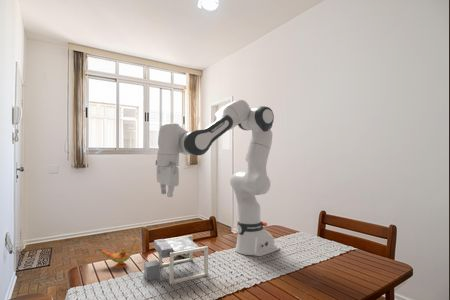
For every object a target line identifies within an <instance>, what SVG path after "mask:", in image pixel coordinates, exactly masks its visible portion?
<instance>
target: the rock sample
mask: <svg viewBox="0 0 450 300" xmlns="http://www.w3.org/2000/svg"><path fill="white" fill-rule="evenodd" d="M180 256H181V257H183V258H184V259H187V258H189V253H187V254H182V255H176V256H175V257H180Z"/></svg>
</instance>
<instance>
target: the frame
mask: <svg viewBox="0 0 450 300" xmlns="http://www.w3.org/2000/svg"><path fill="white" fill-rule="evenodd" d="M184 237H188V238H189V239H190V240H191V241H193V240H194V236H193V234H190V235H183V236H177V237H176V236H175V237H170V238H169V237H168V238H163V239H164V240H171V239H178V238H184ZM193 242H194V241H193ZM201 251H203V272H202V273H198V274H197V273H196V274H193V275H188V276H185V277H184V276H183V277H180V278H176V279H174V278H175V275H174V274H175V273H174V272H175V271H174V269H175V268H174V266H175V265H177V264H181V263H186V262H191V261H193V258H194V257H193V256H194V253H197V252H201ZM187 253H189V258H187V257H186V258H184V259H178V260H175V257H177V256H176V255H182V254H187ZM158 262H159V264H160V268H162V267H167V266H169V284H170V285H173V284H178V283H182V282H186V281H190V280H193V279H194V280H195V279H200V278H202V277H206V276H207V277H208V276H209V246H207V245H204V246H199V247H198V248H193V249H187V250H182V251H176V252H171V253H170V257H169V262H163V258H161V256H160V255H159V254H158Z"/></svg>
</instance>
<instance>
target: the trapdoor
mask: <svg viewBox="0 0 450 300" xmlns="http://www.w3.org/2000/svg"><path fill="white" fill-rule="evenodd" d="M164 239H165V238H161V239H154V240H153V248H154V249H155V251H156V252H157V254H158V256H159V255H160V256H161V258H162V259H165V258H170V253H171V252H176V251H182V250H187V249H193V248H198V247H200V246H199V245H198V244H196V242H194V241H191V240H190V239H189V238H188V237H184V238H178V239H171V240H164Z"/></svg>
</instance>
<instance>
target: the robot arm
mask: <svg viewBox="0 0 450 300" xmlns="http://www.w3.org/2000/svg"><path fill="white" fill-rule="evenodd" d="M274 116H275V115H274V112H273V110H272V109H271V107H268V106H265V105H264V106H258V107H252V108H251V107H250V106H249V103H248V102H247V101H246V100H243V99H237V100H234V101H232V102H230V103H227V104H226V105H224V106H222V107H221V108H220V109H218V110H217V111H216V112H215V113H214V116H213V120H214V122H212V123H211V124H210V125H208V126H206V127H205V128H204V129H196V130H193V131H188V130H186V129H184V128H183V127H182V126H181V125H180V124H179V123H177V122H169V123H164V124H162V125H160V127H159V131H158V139H157V146H158V147H157V148H158V150H157V153H156V154H157V155H156V156H157V157H156V160H155V166H156V181H157V183H159V184H160V190H161V191H160V194H161V195H166V194H167V195H166V196H167V197H168V198H173V196H174V194H173V193H174V190H175V187H178V186H179V182H180V180H179V179H180V172H179V165H180V164H179V163H180V154H182V155H186V156H187V155H188V156H203V155H204V154H206V153H207V152H208V151H209V149H210V148H211V146H212V144H213V143H214V142H215V141H216V140H217V139H219V138H221V136H223V134H225V133H227V132H228V131H230V130H232V129H234V128H235V127H237V126H238V128H239V129H241V130H242V131H251V134H252V135H251V139H250V141H249V145H248V146H247V147H248V148H247V152H246V154H245V162H246V163H247V169H246V171H242V170H241V171H237V172H235V173H233V174H232V175H231V177H230V179H229V184H230V186H231V188H232V189H233V191H234V195H235V198H236V202H237V218H238V219H237V220H238V221H237V226H236V227H237V237H236V238H237V239H236V245H235V248H234V250H235V252H237V253H239V254H241V255H245V256H256V257H262V256H265V255H268V254H270V253H273V252H276V251H279V250H280V246H279V245H278V244H276V243H275V238H274V236H273V235H272V234H271V233H270V232H269V231H267V230H266V229H265V228H264V227H266V228H267V227H268V223H267V222H265V221H261V205H260V203H259V202H258V201H257V198H256V196H261V195H262V196H263V195H265V194H267V193H268V192H269V190H270V189H271V180H270V178H269V176H268V174H267V164H268V163H267V162H268V159H269V154H270V150H271V147H272V143H273V131H272V130H271V129H272V127H273V123H274V122H275V121H274V119H275V117H274ZM166 187H167V188H166Z"/></svg>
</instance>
